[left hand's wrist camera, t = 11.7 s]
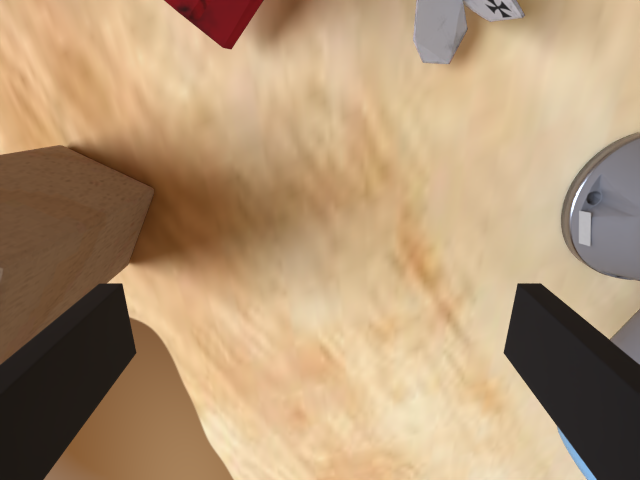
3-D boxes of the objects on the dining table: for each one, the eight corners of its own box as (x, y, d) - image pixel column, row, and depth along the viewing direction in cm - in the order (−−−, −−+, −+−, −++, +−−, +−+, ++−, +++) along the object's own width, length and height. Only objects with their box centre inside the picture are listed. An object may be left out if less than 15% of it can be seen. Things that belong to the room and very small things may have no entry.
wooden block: (157, 188, 39) (4, 268, 20) (128, 266, 42) (-28, 401, 23) (60, 142, 37) (-204, 184, 18) (38, 228, 40) (-209, 338, 21)
